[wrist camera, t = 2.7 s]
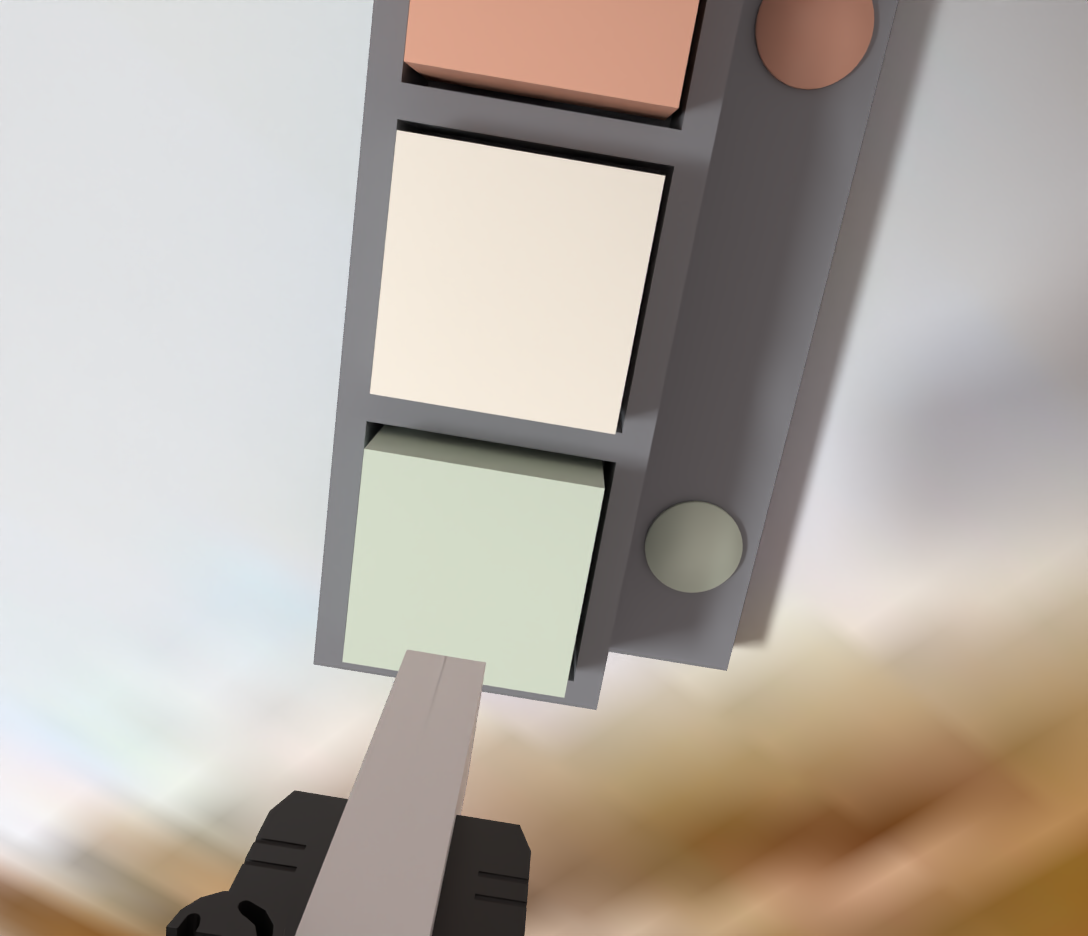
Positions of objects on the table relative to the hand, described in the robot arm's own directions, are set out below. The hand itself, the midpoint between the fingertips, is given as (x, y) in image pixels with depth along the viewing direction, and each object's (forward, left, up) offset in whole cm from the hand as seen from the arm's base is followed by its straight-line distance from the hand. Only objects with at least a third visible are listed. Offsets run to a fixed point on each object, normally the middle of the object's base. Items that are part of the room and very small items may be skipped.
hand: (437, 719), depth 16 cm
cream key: (0, +7, -9) cm, 12 cm away
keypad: (+2, +7, -13) cm, 15 cm away
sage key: (0, 0, -9) cm, 9 cm away
